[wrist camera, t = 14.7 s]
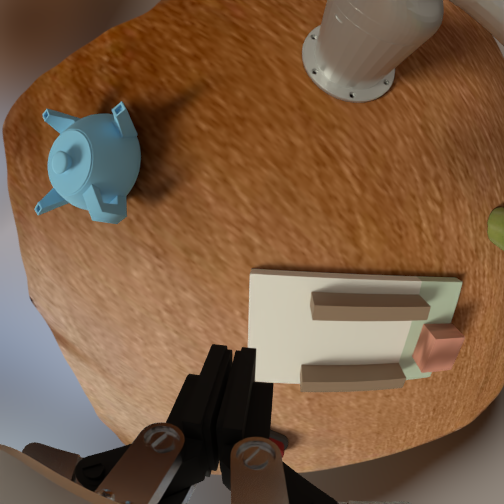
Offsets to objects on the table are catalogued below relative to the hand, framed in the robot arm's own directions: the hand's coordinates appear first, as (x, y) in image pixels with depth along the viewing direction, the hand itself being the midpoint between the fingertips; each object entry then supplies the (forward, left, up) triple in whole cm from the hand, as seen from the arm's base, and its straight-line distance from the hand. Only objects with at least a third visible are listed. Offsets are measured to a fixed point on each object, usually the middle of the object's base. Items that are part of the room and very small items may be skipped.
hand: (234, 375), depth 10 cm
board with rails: (+14, +14, -27) cm, 34 cm away
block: (+15, +27, -25) cm, 40 cm away
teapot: (-10, -24, -27) cm, 38 cm away
